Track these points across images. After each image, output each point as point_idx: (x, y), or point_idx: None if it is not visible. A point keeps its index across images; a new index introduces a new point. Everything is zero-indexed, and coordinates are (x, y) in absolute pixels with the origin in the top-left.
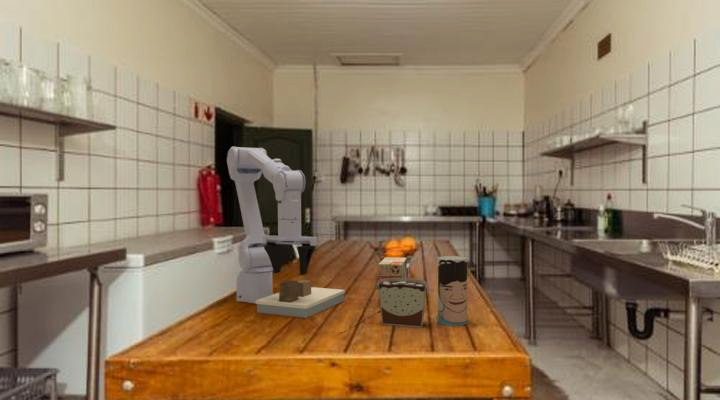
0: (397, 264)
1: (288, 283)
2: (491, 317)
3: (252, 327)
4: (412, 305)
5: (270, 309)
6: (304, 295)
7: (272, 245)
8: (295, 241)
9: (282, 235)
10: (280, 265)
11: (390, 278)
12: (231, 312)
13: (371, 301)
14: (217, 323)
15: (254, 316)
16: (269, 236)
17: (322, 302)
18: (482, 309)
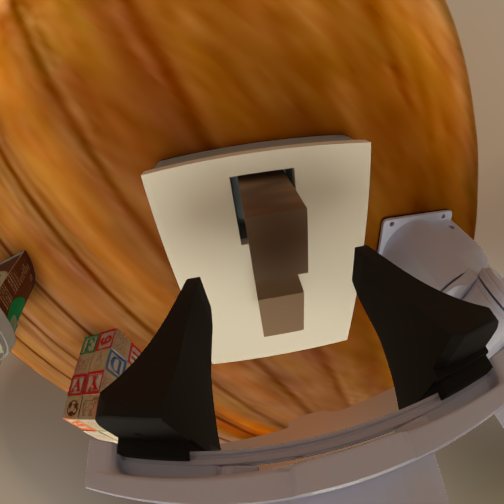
0: (67, 418)
1: (252, 219)
2: None
3: (256, 17)
4: None
5: (301, 143)
6: (253, 274)
7: (452, 367)
8: (246, 471)
9: (374, 501)
10: (364, 306)
11: (3, 350)
12: (424, 137)
13: None
14: (382, 21)
15: (346, 123)
16: (497, 410)
17: None
18: (41, 371)
